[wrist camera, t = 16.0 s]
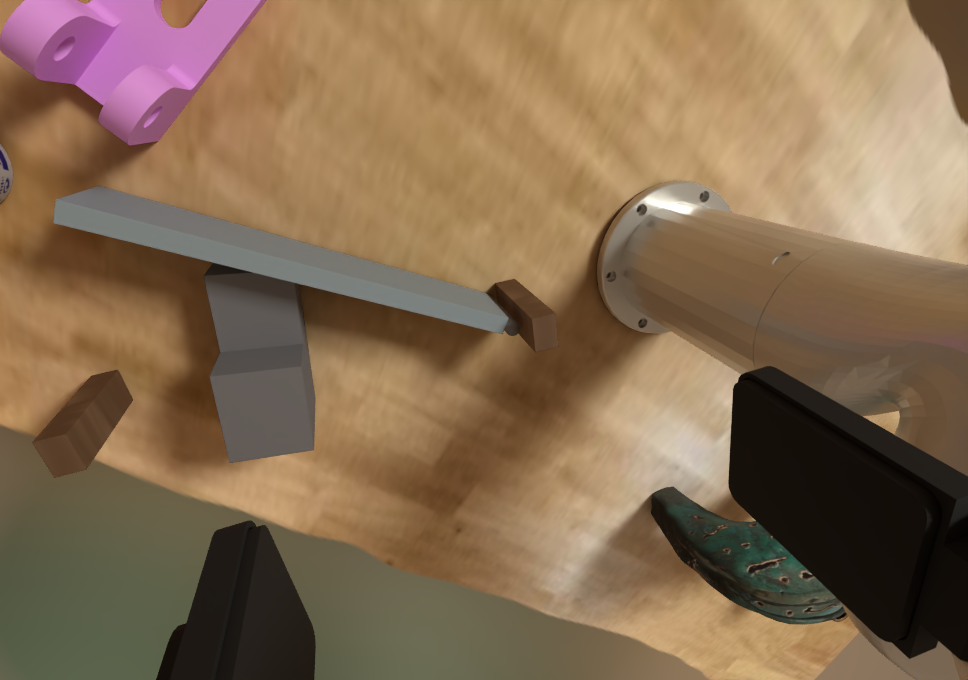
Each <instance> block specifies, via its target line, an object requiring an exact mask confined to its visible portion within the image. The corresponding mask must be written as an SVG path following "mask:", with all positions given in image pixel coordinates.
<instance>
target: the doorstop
mask: <svg viewBox="0 0 968 680" xmlns="http://www.w3.org/2000/svg"><path fill="white" fill-rule="evenodd" d="M204 280H205V285H206V289H207V294H208V298H209V303H210V307H211V312H212V317H213V321H214V326H215V330H216V335H217V339H218V344H219V349H220V354H219V356H218V359H217V361H216V363H215V366H214V368H213V370H212V372H211V375H210V381H211V385H212V389H213V394H214V398H215V402H216V406H217V411H218V415H219V419H220V424H221V428H222V432H223V437H224V441H225V445H226V449H227V454H228V458H229V462H230V463H233V462H240V461H246V460H253V459H259V458H266V457H272V456H279V455H285V454H292V453H298V452H305V451H312V450H314V431H315V392H314V385H313V378H312V371H311V364H310V357H309V350H308V344H307V337H306V330H305V323H304V316H303V309H302V302H301V295H300V288H299V284H298V283H294V282H290V281H286V280H281V279H277V278H273V277H269V276H265V275H261V274H257V273H253V272H249V271H245V270H241V269H237V268H233V267H229V266H225V265H221V264H217V263H213V264H212V265H211V267H210V268H209V269H208V271H207V272H206V273H205V275H204Z"/></svg>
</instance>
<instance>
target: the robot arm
mask: <svg viewBox="0 0 968 680" xmlns="http://www.w3.org/2000/svg"><path fill="white" fill-rule="evenodd" d="M637 208H638V209H637ZM607 274H608V275H607ZM597 281H598V286H599V291H600V294H601V297H602V299H603V302H604V304H605V305H606V307H607V308H608V310H609V311H610V313H611V314H612V315H613V316H614V317H616V318H617V319H618V320H619V321H620V322H622V323H623V324H625V325H626V326H628V327H629V328H631V329H634V330H636V331H639V332H644V333H651V334H654V333H665V332H669V331H672V332H673V333H675V334H676V335H678V336H680V337H681V338H683V339H685V340H686V341H688V342H689V343H691V344H693V345H694V346H696V347H698V348H699V349H701V350H702V351H704V352H706V353H707V354H709V355H711V356H712V357H714V358H715V359H717V360H719V361H720V362H722V363H723V364H725V365H727V366H728V367H730V368H732V369H733V370H735V371H736V372H738V373H740V374H741V376H740V377H739V380H738V383H736V384H735V385H734V389H733V404H732V424H731V444H730V464H729V489H730V492H731V494H732V496H733V498H734V499H735V500H736V502H737V503H738V504H739V505H740V506H741V507H742V508H744V509H745V510H746V511H747V512H748V513H749V514H750V515H751V516H752V517H753V518H754V519H755V520H756V521H757V522H758V523H759V524H760V525H761V526H762V527H763V528H764V529H765V530H766V531H768V532H769V533H770V534H771V535H772V536H773V537H774V538H775V539H776V540H777V541H778V542H779V543H780V544H781V545H782V546H783V547H784V548H785V549H786V550H787V551H788V552H789V553H790V554H791V555H793V556H794V557H795V558H796V559H797V560H798V561H799V562H800V563H801V564H802V565H803V566H804V567H805V568H806V569H807V570H808V571H809V572H810V573H811V574H812V575H813V576H814V577H815V578H817V579H818V580H819V581H820V582H821V583H822V584H823V585H824V586H825V587H826V588H827V589H828V590H829V591H830V592H831V593H832V594H833V595H834V596H835V597H836V598H837V599H838V600H839V601H840V602H841V604H842V606H843V608H844V610H845V612H846V613H847V615H848V616H849V618H850V619H851V621H852V622H853V624H854V625H855V627H856V628H857V629H858V630H859V632H860V633H861V634H862V635H863V636H864V637H865V638H866V639H867V640H868V641H869V642H870V643H871V644H872V645H873V646H874V647H875V648H876V649H877V650H878V651H879V652H880V653H881V654H883V655H884V656H885V657H886V658H887V659H889V660H890V661H891V662H892V663H894V664H895V665H896V666H897V667H899V668H900V669H901V670H903V671H904V672H906V673H907V674H908V675H910V676H911V677H913V678H914V679H916V680H968V265H964V264H959V263H954V262H949V261H943V260H938V259H933V258H928V257H923V256H918V255H913V254H908V253H903V252H898V251H894V250H889V249H885V248H881V247H876V246H872V245H868V244H863V243H858V242H854V241H850V240H845V239H841V238H837V237H832V236H828V235H824V234H820V233H815V232H811V231H807V230H803V229H798V228H794V227H790V226H786V225H781V224H777V223H773V222H769V221H764V220H760V219H756V218H752V217H747V216H743V215H739V214H735V213H732V211H731V208H730V206H729V205H728V203H727V202H726V201H725V200H724V198H723V197H722V196H721V195H720V194H718V193H717V192H716V191H714V190H713V189H712V188H710V187H707V186H705V185H702V184H700V183H695V182H690V181H670V182H665V183H660V184H658V185H655V186H653V187H651V188H648V189H646V190H645V191H643V192H642V193H640V194H639V195H637V196H636V197H634V198H633V199H632V200H631V201H630V202H629V203H628V204H627V205H626V206H625V207H624V208H622V210H621V211H620V212H619V214H618V215H617V216H616V218H615V219H614V220H613V221H612V223H611V225H610V227H609V229H608V231H607V233H606V234H605V237H604V240H603V242H602V245H601V248H600V252H599V257H598V263H597ZM895 411H899V413H900V419H899V424H898V427H897V429H896V431H895V433H894V434H892V433H890V432H889V431H887V430H885V429H883V428H882V427H880V426H878V425H876V424H875V423H873V422H871V421H869V420H867V419H866V418H864V417H862V416H870V415H877V414H883V413H889V412H895ZM314 670H315V635H314V630H313V626H312V624H311V621H310V619H309V617H308V615H307V612H306V610H305V608H304V606H303V604H302V602H301V599H300V597H299V595H298V593H297V591H296V589H295V586H294V584H293V582H292V580H291V578H290V576H289V573H288V571H287V569H286V567H285V564H284V562H283V560H282V558H281V556H280V554H279V551H278V549H277V547H276V545H275V543H274V540H273V539H272V536H271V534H270V532H269V530H268V528H267V527H266V526H265V525H262V526H258V527H256V525H255V523H254V522H253V521H246V522H242V523H239V524H236V525H232V526H229V527H226V528H222V529H219V530H217V531H216V532H215V533H214V535H213V537H212V540H211V543H210V547H209V550H208V553H207V557H206V560H205V564H204V567H203V570H202V573H201V577H200V580H199V583H198V587H197V590H196V593H195V597H194V600H193V603H192V607H191V610H190V613H189V617H188V620H187V623H186V624H183V625H180V626H178V627H177V628H176V629H175V630H174V631H173V633H172V635H171V637H170V639H169V642H168V645H167V648H166V651H165V654H164V657H163V660H162V663H161V666H160V669H159V672H158V676H157V679H156V680H314Z"/></svg>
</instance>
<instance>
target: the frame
mask: <svg viewBox="0 0 968 680" xmlns="http://www.w3.org/2000/svg"><path fill="white" fill-rule="evenodd" d="M495 286H496V293H497V300H498V302H499V304H500V305H501V306H502V307H503V308H504V309H505V310H506V311H507V312H508V313H509V314H510V315H511V316H512V317H513V318H514V319H515V320H516V322H517V323H518V324H519V325H520V331H519V335H520V336H521V337H522V338H523V339H524V340H525V341H526V342H527V343H528V345H529V346H530V347H531V348H532V349H533V350H534V351H535V352H540V351H544V350H548V349H551V348H555V347H558V337H557V325H556V314H555V313H554V312H553V311H552V310H551V309H550V308H549V307H547V306H546V305H545V304H544V303H543V302H541V301H540V300H539V299H538V298H537V297H536V296H534V295H533V294H532V293H531V292H530V291H528V290H527V289H526V288H525V287H524V286H523V285H521V284H520V283H519V282H518V281H517V280H515V279H512V280H508V281H503V282H499V283H495ZM132 401H133V398H132V396H131V394H130V393H129V391H128V389H127V387H126V385H125V383H124V381H123V379H122V377H121V375H120V373H119V371H118V370H115V371H110V372H106V373H102V374H97V375H93V376H91V377H90V378H89V379H88V381H87V382H86V383H85V384H84V385H83V386H82V387H81V388H80V390H79V391H78V392H77V393H76V394H75V395H74V396H73V397H72V398H71V400H70V401H69V402H68V403H67V404H66V405H65V406H64V407H63V409H62V410H61V411H60V412H59V413H58V414H57V415H56V416H55V417H54V419H53V420H52V421H51V422H50V423H49V424H48V425H47V426H46V428H45V429H44V430H43V431H42V432H41V433H40V434H39V435H38V436H37V438H36V439H35V440H34V441H33V442H32V443H33V444H34V446H35V448H36V449H37V451H38V452H39V454H40V456H41V457H42V459H43V460H44V462H45V464H46V465H47V467H48V468H49V470H50V472H51V473H52V475H53V476H54V478H56V477H60V476H63V475H67V474H71V473H75V472H79V471H83V470H86V469H87V468H88V466H89V465H90V464H91V462H92V461H93V459H94V458H95V456H96V455H97V453H98V452H99V450H100V449H101V447H102V446H103V444H104V443H105V441H106V440H107V438H108V437H109V435H110V434H111V432H112V431H113V429H114V428H115V426H116V425H117V423H118V422H119V420H120V419H121V417H122V416H123V414H124V413H125V411H126V410H127V408H128V407H129V405H130V404H131V403H132Z"/></svg>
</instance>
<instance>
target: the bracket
mask: <svg viewBox="0 0 968 680" xmlns="http://www.w3.org/2000/svg"><path fill="white" fill-rule="evenodd" d="M161 1H162V0H92V1H91V2H89V3H87V4H84V3H82V2H79V1H77V0H25V1H24V2H23V3H22V4H21V5H20V6H19V7H18V8H17V9H16V10H15V11H14V12H13V13H12V15H11V16H10V18H9V19H8V21H7V22H6V24H5V26H4V28H3V30H2V33H1V37H0V49H1V51H2V53H3V54H4V55H6V56H7V57H9V58H10V59H11V60H13V61H14V62H15V63H17V64H18V65H20V66H21V67H22V68H24V69H25V70H26V71H28V72H29V73H31V74H32V75H33V76H35V77H36V78H37V79H39V80H43V81H51V82H59V83H67V84H75V85H76V86H78V87H79V88H80V89H82V90H83V91H84V92H86V93H87V94H88V95H90V96H91V97H92V98H94V99H95V100H96V101H98V102H99V103H100V104H102V105H103V108H102V110H101V112H100V115H99V123H100V124H101V125H102V126H103V127H105V128H106V129H108V130H109V131H110V132H112V133H113V134H114V135H116V136H117V137H119V138H120V139H121V140H123V141H124V142H125V143H127V144H128V145H137V144H143V143H150V142H156V141H159V140H160V139H161V137H162V136H163V135H164V133H165V132H166V131H167V129H168V128H169V127H170V126H171V124H172V123H173V122H174V120H175V119H176V118H177V116H178V115H179V114H180V113H181V111H182V110H183V109H184V107H185V106H186V105H187V103H188V102H189V101H190V100H191V98H192V97H193V96H194V94H195V93H196V92H197V90H198V89H199V88H200V86H201V85H202V84H203V83H204V81H205V80H206V79H207V77H208V76H209V75H210V73H211V72H212V71H213V70H214V68H215V67H216V66H217V64H218V63H219V62H220V60H221V59H222V58H223V57H224V55H225V54H226V53H227V51H228V50H229V49H230V47H231V46H232V45H233V44H234V42H235V41H236V40H237V38H238V37H239V36H240V34H241V33H242V32H243V31H244V29H245V28H246V27H247V25H248V24H249V23H250V21H251V20H252V19H253V18H254V16H255V15H256V14H257V12H258V11H259V10H260V8H261V7H262V6H263V5H264V3H265V2H266V1H267V0H207V2H206V3H205V4H204V6H203V7H202V8H201V10H200V11H199V12H198V14H197V15H196V16H195V18H194V19H193V20H192V22H191V23H190V24H189V25H188V26H186V27H184V28H173V27H170V26H169V25H168V24H167V23H166V22H165V20H164V19H163V17H162V14H161V10H160V5H161Z"/></svg>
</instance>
